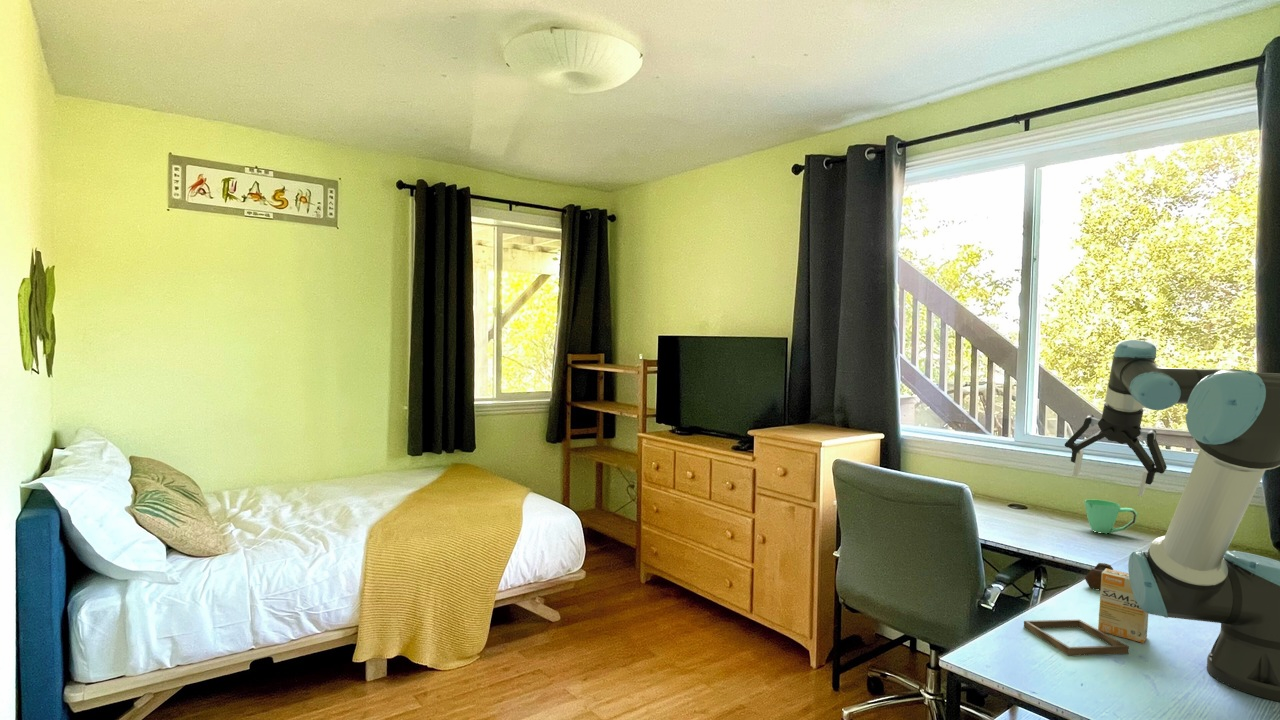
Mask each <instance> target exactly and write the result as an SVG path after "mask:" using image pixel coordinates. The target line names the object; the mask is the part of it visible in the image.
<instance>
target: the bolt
mask: <svg viewBox="0 0 1280 720" xmlns="http://www.w3.org/2000/svg"><path fill="white" fill-rule="evenodd" d="M1106 568H1107V569H1111V570H1114V568H1113V567H1112V565H1111V564H1109V563H1103V562H1098V563H1097V564H1096V566H1095V567H1094V568H1091V569H1090V570H1089V572H1088V573H1087V574H1086V575H1085V577H1084V580H1085V581H1086V583H1087V585H1088V587H1089V588H1090V589H1092V588H1094V589H1093V590H1096V589H1099V590H1098V591H1100V590H1101V575H1102V572H1103V571H1104V570H1105V569H1106Z"/></svg>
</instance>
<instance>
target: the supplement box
mask: <svg viewBox="0 0 1280 720" xmlns="http://www.w3.org/2000/svg"><path fill="white" fill-rule="evenodd" d="M1099 592H1100V593H1099V610H1098V623H1097V624H1098V626H1097V627H1098V628H1097V629H1098V630H1100V631H1101V632H1103V633H1105V634H1107V635H1112V636H1115V637H1118V638H1119V637H1120V638H1123V639H1124V638H1125V639H1128V640H1131V641H1134V642H1138V643H1141V644H1144V642H1145V641H1146V639H1147V636H1148V627H1149V625H1148V623H1149V614H1148V613H1146V612H1144V611H1143V610H1142V609H1141V608H1140V607H1139V605H1138V604H1137V602H1136V600H1135V598H1134V595H1133V592H1132V589H1131V585H1130V579H1129V572H1128V573H1127V572H1122V571H1118V570H1114V569H1113V570H1111V569H1107V568H1106V569H1105V570H1104V571H1103V572H1102V575H1101V591H1100V590H1099Z"/></svg>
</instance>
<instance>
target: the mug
mask: <svg viewBox="0 0 1280 720" xmlns="http://www.w3.org/2000/svg"><path fill="white" fill-rule="evenodd" d="M1084 507H1085V511H1086V516H1087V521H1088V523H1089V526H1090V529H1091V531H1092V530H1094V531H1096V532H1101V533H1109V534H1110V533H1116V532H1121V531H1125V530H1127V529H1128V528H1130V527H1132V526H1133V525H1135V524H1136V522H1137V518H1138V514H1139V513H1138V512H1137V511H1136V510H1135V509H1134V508H1131V507H1121V506H1120V503H1117V502H1114V501H1109V500H1103V499H1102V500H1101V499H1092V498H1091V499H1090V498H1089V499H1085V500H1084ZM1125 512H1126V513H1132V520H1130V521H1129V522H1128V523H1126V524H1125V525H1124V526H1121V527H1120V526H1119V527H1115V528H1114V525H1115V524H1116V521H1117V519H1118V515H1119V514H1118V513H1125Z"/></svg>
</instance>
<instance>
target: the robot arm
mask: <svg viewBox="0 0 1280 720" xmlns="http://www.w3.org/2000/svg"><path fill="white" fill-rule="evenodd" d="M1156 359H1157V347H1156V345H1154V344H1153V343H1151V342H1148V341H1144V340H1139V339H1125V340H1121V341H1119V342H1118V343H1117V344H1116V345H1115V349H1114V352H1113V355H1112V362H1111V363H1112V364H1111V368H1110V374H1109V378H1108V384H1107V389H1106V393H1105V400H1104V401H1105V402H1104V404H1103V408H1102V409H1103V410H1102V414H1101V418H1100V419H1099V418H1096V417H1094V415H1093V414H1088V415H1087V416H1086V417H1085V418H1084V420H1083V424H1082V426H1081V427H1080V428H1078V430H1076V432H1075V433H1073V434H1072V436H1070V438H1069V439H1067V441H1066V442H1065V443H1064V447H1065V448H1069V450H1070V449H1071V451H1072V452H1071V458H1070V462H1071V463H1074V468H1073V472H1072V476H1073V477H1075V478H1076V477H1078V475H1079V474H1080V473H1081V467H1082V463H1083V457H1084V453H1085V452H1084V451H1085V450H1084V448H1086V447H1088V446H1090V445H1092V444H1094V443H1096V442H1097V441H1100V440H1102V439H1104V438H1106V439H1107V441H1110V442H1116V443H1118V444H1120V445H1123V444H1126V445H1127V446H1128V448H1130V449H1131V450H1132V452H1133V453H1134V454H1135V456H1136V457H1137V458H1138V460H1139V461H1140V462H1141V464H1142V466H1143V467H1144V468H1145V469H1144V470H1143V472H1142V476H1141V480H1140V485H1139V489H1138V493H1137V496H1139V497H1143V496H1144V494H1145V493H1146V488H1147V485H1150V486H1151V485H1152V483H1153V482H1154V479H1155V475H1156V473H1159V474H1161V475H1162V474H1164V473H1165V471H1166V470H1167V468H1168V466H1167V465H1166V461H1165V459H1164V456H1163V454H1162V451H1161V449H1160V445H1159V443H1158V441H1157V431H1156V430H1155V429H1150V430H1145V429H1142V428H1141V423H1142V420H1143V416H1144V415H1143V414H1144V408H1147V409H1149V410H1153V411H1162V410H1165V409H1169V408H1172V407H1173V406H1175V405H1176V404H1177V405H1179V404H1181V405H1186V409H1187V413H1186V414H1185V424H1186V428H1187V430H1188V432H1189V434H1190V436H1191V437H1192V438H1193V441H1194V443H1195V444H1196V446H1197V447H1198V449H1199V452H1198V454H1197V456H1196V459H1195V462H1194V464H1193V467H1192V468H1191V471H1190V474H1189V476H1188V479H1187V482H1186V484H1185V486H1184V489H1183V491H1182V494H1181V496H1180V499H1179V501H1178V503H1177V505H1176V508H1175V511H1174V513H1173V516H1172V518H1171V520H1170V523H1169V526H1168V528H1167V531H1166V533H1165V535H1162V536H1159V537H1157V538H1155V539H1154V540H1152V542H1151V543H1150V545H1149V549H1148V550H1147V552H1146V551H1143V550H1138V551H1132V552H1131V553H1130V555H1129V558H1128V566H1127V567H1128V574H1129V579H1130V585H1131V589H1132V592H1133V595H1134V598H1135V600H1136V602H1137V604H1138V605H1139V607H1140V608H1141V609H1142V610H1143V611H1144V612H1146V613H1148V615H1154V616H1158V617H1164V618H1165V619H1166V618H1167V619H1168V618H1171V619H1181V620H1187V621H1188V620H1189V621H1198V622H1207V623H1214V624H1215V623H1216V624H1220V632H1219V634H1218V636H1217V638H1216V639H1215V642H1214V644H1213V645H1212V648H1211V651H1210V652H1209V653H1208V655H1207V659H1206V670H1207V672H1208V673H1209V674H1210V675H1211V676H1212V677H1213V678H1214V679H1216V680H1217V681H1219V682H1220V683H1222V684H1225V685H1227V686H1229V687H1231V688H1234V689H1235V690H1237V691H1241V692H1243V693H1247V694H1250V695H1252V696H1256V697H1259V698H1263V699H1268V700H1271V701H1276V702H1280V561H1279V560H1276V559H1273V558H1270V557H1266V556H1264V555H1263V556H1262V555H1259V554H1253V553H1251V552H1250V553H1249V552H1246V551H1241V550H1240V551H1238V550H1228V549H1229V547H1230V544H1231V542H1232V540H1233V538H1235V537H1234V536H1235V535H1236V532H1237V530H1238V528H1239V526H1240V524H1241V522H1242V520H1243V519H1244V515H1245V513H1246V512H1247V509H1248V507H1249V505H1250V504H1251V501H1252V499H1253V497H1254V495H1255V493H1256V491H1257V488H1258V487H1259V485H1260V482H1261V481H1262V478H1263V477H1264V474H1265V472H1266V471H1267V470H1269V471H1270V470H1274V469H1276V468H1279V467H1280V373H1275V372H1274V373H1273V372H1255V371H1252V370H1242V369H1235V368H1232V369H1231V368H1230V369H1218V368H1216V369H1213V368H1212V369H1209V368H1207V369H1206V368H1184V367H1181V368H1178V367H1160V366H1159V365H1158V364H1157V363H1156V362H1155V360H1156ZM1095 425H1097V426H1098V428H1099V431H1097V432H1096V433H1094V434H1092V435H1090V436H1089V437H1087V438H1084V439H1083V440H1081V441H1080V442H1078V443H1076V441H1077V440H1078V439H1079V438H1080V437H1081V436H1082V435H1084V433H1085V432H1086V431H1087V430H1088V429H1089V428H1090V427H1094V426H1095ZM1139 436H1142V437H1143V440H1144V441H1146V444H1147V447H1148V450H1149V453H1150V455H1151V456H1150V455H1149V453H1147V451H1146V450H1145V448H1144V447H1143V444H1141V442H1140V440H1139V439H1138V437H1139Z"/></svg>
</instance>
